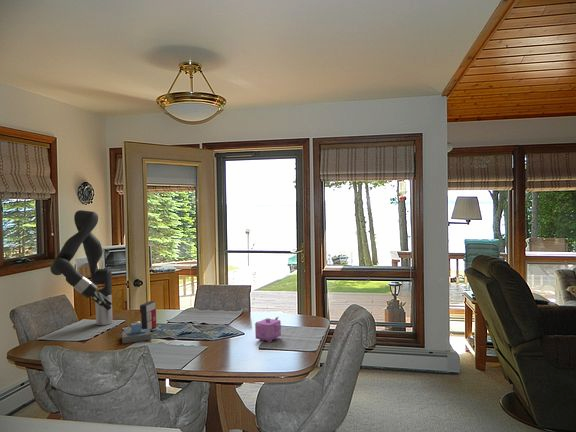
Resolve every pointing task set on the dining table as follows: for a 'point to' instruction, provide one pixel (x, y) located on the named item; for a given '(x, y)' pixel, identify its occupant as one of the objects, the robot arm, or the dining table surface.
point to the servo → (135, 329)
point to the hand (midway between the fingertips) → (110, 307)
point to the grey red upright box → (148, 315)
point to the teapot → (268, 329)
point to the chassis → (136, 336)
